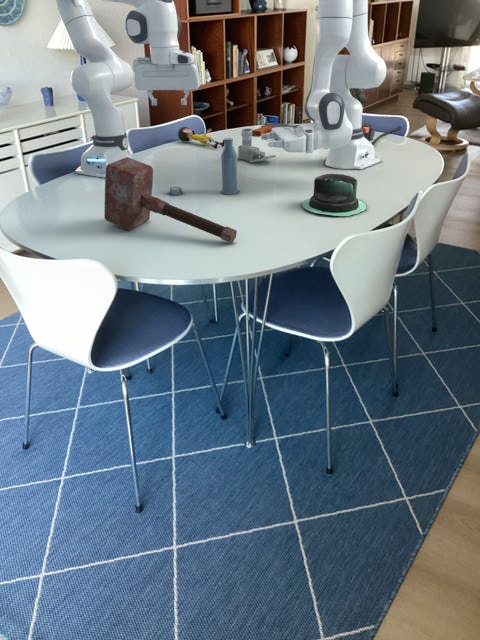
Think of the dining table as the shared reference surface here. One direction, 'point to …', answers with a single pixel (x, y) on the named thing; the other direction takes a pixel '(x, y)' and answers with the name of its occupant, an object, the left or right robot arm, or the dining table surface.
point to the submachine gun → (270, 128)
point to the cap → (175, 190)
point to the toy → (369, 131)
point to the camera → (250, 149)
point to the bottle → (229, 168)
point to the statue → (358, 95)
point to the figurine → (197, 137)
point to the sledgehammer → (146, 200)
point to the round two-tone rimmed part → (334, 196)
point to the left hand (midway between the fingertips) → (169, 105)
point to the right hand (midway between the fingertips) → (264, 140)
